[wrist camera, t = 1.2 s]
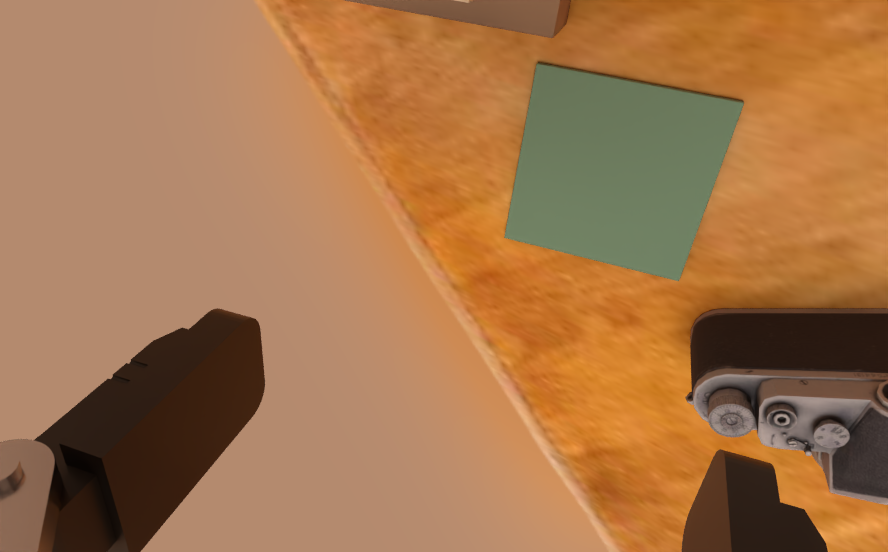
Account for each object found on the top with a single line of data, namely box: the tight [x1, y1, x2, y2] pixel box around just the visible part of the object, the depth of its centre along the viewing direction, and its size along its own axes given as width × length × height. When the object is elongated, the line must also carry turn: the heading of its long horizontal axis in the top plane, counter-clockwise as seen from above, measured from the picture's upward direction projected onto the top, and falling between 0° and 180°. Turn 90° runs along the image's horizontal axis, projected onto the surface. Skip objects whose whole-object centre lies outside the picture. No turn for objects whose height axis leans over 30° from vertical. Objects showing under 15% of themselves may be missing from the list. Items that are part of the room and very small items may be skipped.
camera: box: [686, 309, 888, 505], centre depth 31 cm, size 16×8×10 cm, turn 101°
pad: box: [504, 62, 744, 281], centre depth 34 cm, size 10×10×1 cm
